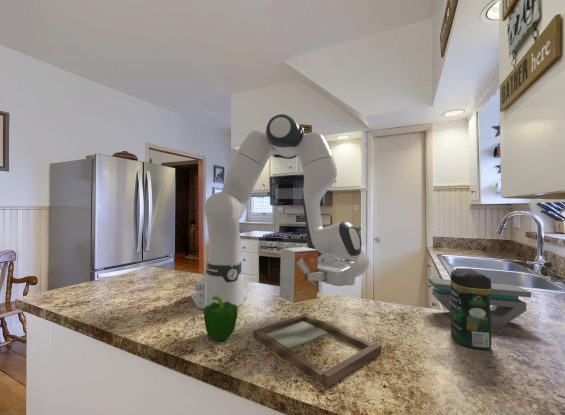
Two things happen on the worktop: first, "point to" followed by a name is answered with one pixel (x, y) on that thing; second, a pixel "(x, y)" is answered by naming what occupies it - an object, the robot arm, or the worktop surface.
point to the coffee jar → (471, 308)
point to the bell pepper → (220, 319)
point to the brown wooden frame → (307, 329)
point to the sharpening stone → (501, 298)
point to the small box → (298, 274)
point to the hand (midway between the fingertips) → (296, 274)
